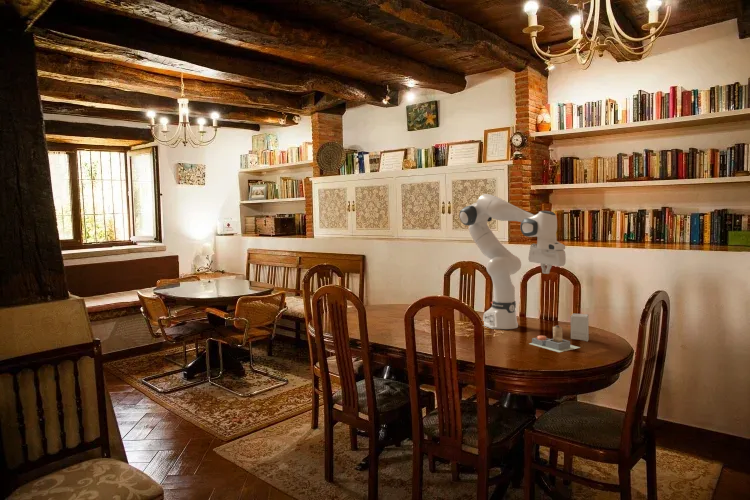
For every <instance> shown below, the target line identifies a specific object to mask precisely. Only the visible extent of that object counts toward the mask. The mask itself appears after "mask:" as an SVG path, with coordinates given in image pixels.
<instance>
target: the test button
mask: <svg viewBox="0 0 750 500" xmlns="http://www.w3.org/2000/svg"><path fill="white" fill-rule="evenodd" d="M536 338H537V339H538V340H541V341H543V340H546V338H547V336H546V335H537V336H536Z"/></svg>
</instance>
